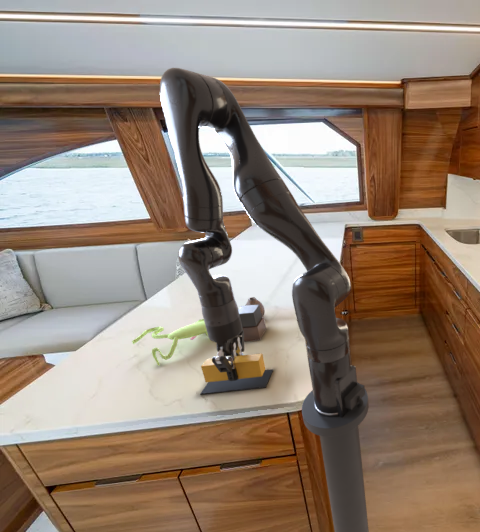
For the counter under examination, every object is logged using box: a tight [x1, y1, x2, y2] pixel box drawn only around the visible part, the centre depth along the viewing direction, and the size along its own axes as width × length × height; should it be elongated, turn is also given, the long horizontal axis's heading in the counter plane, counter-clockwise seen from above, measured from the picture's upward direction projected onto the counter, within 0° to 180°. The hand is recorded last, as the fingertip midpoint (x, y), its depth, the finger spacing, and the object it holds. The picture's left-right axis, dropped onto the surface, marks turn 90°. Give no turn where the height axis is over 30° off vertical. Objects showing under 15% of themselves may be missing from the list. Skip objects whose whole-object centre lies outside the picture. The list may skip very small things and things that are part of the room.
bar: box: [200, 352, 266, 383], centre depth 78 cm, size 14×3×5 cm, turn 98°
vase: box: [244, 296, 265, 317], centre depth 111 cm, size 7×7×9 cm
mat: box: [199, 368, 274, 396], centre depth 80 cm, size 16×7×1 cm, turn 97°
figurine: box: [131, 318, 208, 366], centre depth 99 cm, size 18×27×6 cm
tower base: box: [242, 316, 267, 342], centre depth 101 cm, size 7×7×5 cm
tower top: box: [238, 305, 262, 327], centre depth 99 cm, size 6×6×5 cm
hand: (236, 374), depth 79 cm, fingers closed on bar, 3 cm apart
